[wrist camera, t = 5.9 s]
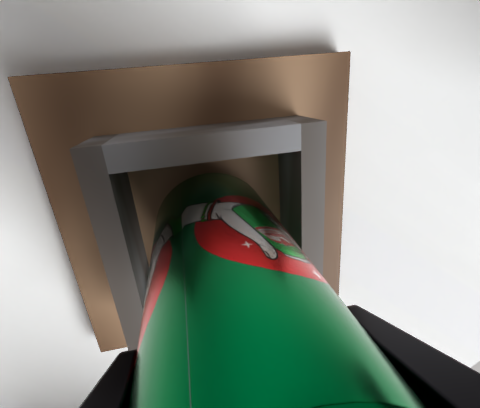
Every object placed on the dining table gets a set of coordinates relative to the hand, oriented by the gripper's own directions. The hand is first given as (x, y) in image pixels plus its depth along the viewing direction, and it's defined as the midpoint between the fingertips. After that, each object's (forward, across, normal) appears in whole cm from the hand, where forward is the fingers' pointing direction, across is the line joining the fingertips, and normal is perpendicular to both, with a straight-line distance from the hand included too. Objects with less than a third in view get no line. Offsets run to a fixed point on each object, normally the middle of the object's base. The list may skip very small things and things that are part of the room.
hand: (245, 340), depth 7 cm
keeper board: (+9, 0, 0) cm, 9 cm away
